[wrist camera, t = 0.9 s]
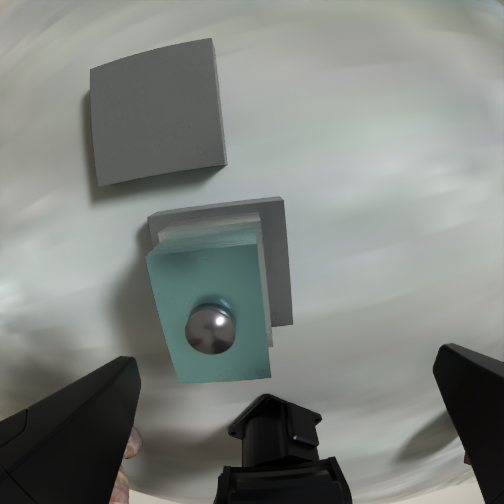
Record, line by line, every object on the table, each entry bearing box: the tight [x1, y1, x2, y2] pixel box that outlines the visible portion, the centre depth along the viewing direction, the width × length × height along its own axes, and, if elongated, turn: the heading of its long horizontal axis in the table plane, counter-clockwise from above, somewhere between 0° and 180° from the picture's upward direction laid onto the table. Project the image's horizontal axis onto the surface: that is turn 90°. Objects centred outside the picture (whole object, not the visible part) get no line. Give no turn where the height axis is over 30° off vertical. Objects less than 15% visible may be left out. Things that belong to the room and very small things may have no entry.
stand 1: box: [90, 38, 227, 187], centre depth 16 cm, size 8×8×2 cm
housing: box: [145, 212, 273, 383], centre depth 14 cm, size 7×5×7 cm
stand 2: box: [147, 197, 293, 327], centre depth 19 cm, size 8×8×2 cm
